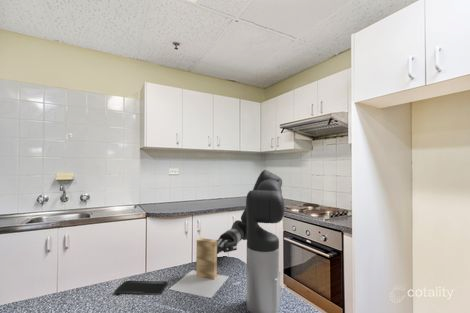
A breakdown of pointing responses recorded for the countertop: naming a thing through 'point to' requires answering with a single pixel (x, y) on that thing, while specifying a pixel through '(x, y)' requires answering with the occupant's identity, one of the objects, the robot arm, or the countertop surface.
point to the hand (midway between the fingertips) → (214, 252)
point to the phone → (141, 287)
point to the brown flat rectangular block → (206, 258)
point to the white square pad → (199, 284)
